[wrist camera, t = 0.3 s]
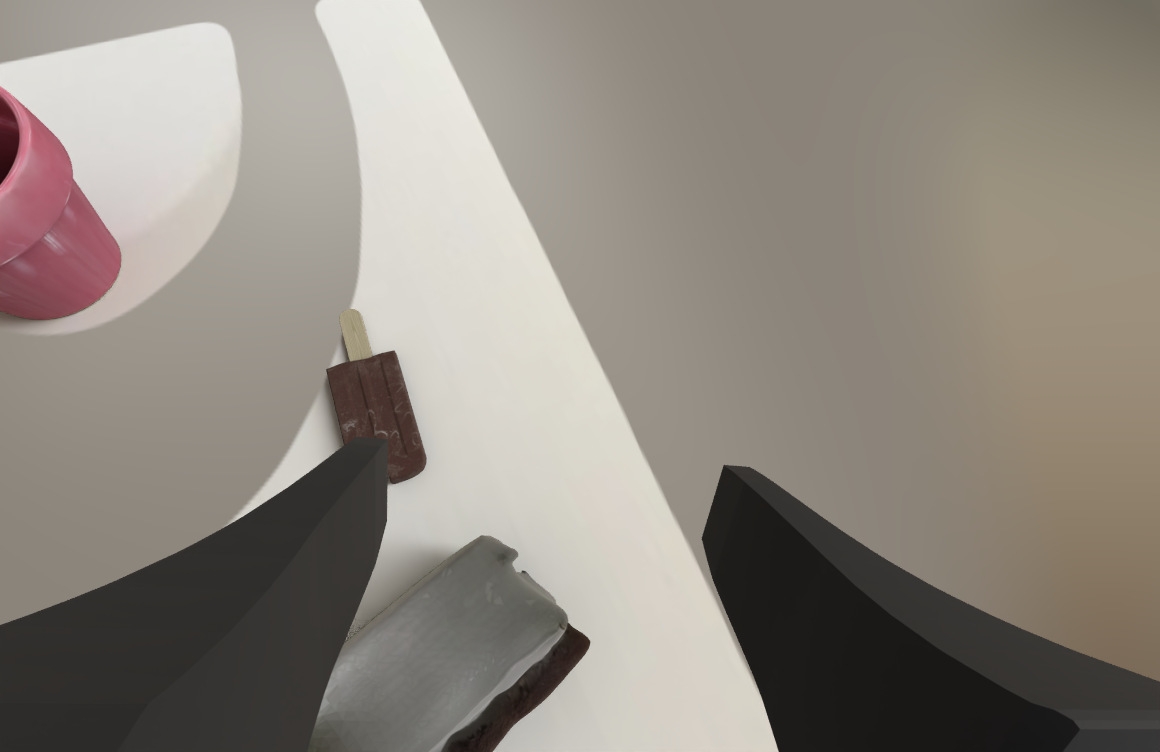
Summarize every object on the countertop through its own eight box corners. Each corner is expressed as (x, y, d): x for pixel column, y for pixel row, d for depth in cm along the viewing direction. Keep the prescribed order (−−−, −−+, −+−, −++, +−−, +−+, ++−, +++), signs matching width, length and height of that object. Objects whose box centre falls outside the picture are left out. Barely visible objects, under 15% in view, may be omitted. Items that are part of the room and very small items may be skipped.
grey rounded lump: (364, 876, 32) (322, 959, 25) (261, 716, 34) (195, 750, 27) (589, 644, 38) (609, 657, 31) (489, 521, 41) (485, 506, 33)
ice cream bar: (318, 323, 45) (361, 496, 40) (312, 314, 43) (355, 492, 39) (383, 306, 46) (431, 472, 41) (378, 297, 44) (428, 468, 40)
